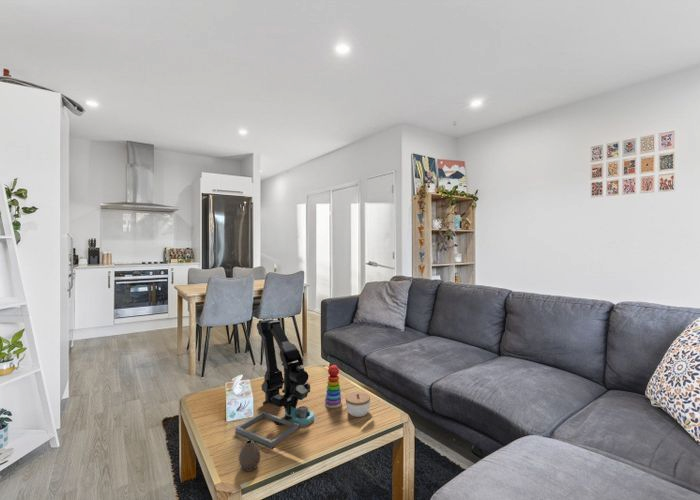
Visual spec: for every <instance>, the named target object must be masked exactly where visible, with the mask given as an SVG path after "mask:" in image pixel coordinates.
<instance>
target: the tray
mask: <svg viewBox="0 0 700 500" xmlns="http://www.w3.org/2000/svg"><path fill="white" fill-rule="evenodd" d="M262 418H265V419H269V420H270V421H274V422H276V423H280V424H281V425H282V424H283V425H284V426H288V427H289V428H288V429H287V430H284V431H283V432H282V433H280V434H279V435H278V436H277V435H276V437H275V438H273V439H269V438H266V437H265V436H261V435H259V434H256V433H254V432H253V431H249V430H247V429H246V428H247V427H248V426H250V425H252V424H254V423H255V422H257V421H260V420H261V419H262ZM299 427H300V426H299V424H297V423H294V422H291V421H289V419H286V418H283V417H279V416H278V415H274V414H271V413H269V412H266V411H262V412H261V413H258V414H257V415H254V416H253V417H252V418H250V419H248V420H246V421H245V422H243V423H241V424H239V425H237V426H236V427H234V428H235V435H236V436H239V437H242V438H244V439H247V440H253V442H254V443H255V444H258V445H260V446H263V447H265V448H267V449H269V450H273V449H274V448H275V445H277V444H278V443H279V442H281V441H282V440H284V439H286V438H287V437H288V436H289V435H290V434H292V433H294V432H295V431H296V430H298V429H300V428H299Z"/></svg>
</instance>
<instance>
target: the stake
mask: <svg viewBox="0 0 700 500" xmlns="http://www.w3.org/2000/svg"><path fill="white" fill-rule="evenodd" d="M308 410H309V407H308V406H303V405H302V406H299V407H298V408H297V411H298V412H299V417H297V418H307V417H308V416H306V412H307V411H308ZM319 418H320V416H318V415H314V421H312V422H311V423H309V424H306V425H299V427H300V428H303V429H305V428H306V427H308V426H310V425H311V424H312V423H314V422H315V421H317V420H319ZM288 420H289V421H291V422H292V417H289V419H288Z"/></svg>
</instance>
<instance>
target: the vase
mask: <svg viewBox="0 0 700 500" xmlns="http://www.w3.org/2000/svg"><path fill="white" fill-rule="evenodd" d="M260 460H261V452H260V448H259V446H258V445H257V443H256V442H253V440H249V439H247V440H246V441H245V442H244V445H243V446H242V447H241V449H240V451H239V454H238V463H239V464H238V465H239V466H240V468H241V469H242V470H244V471H246V472H251V471H253V470H255V469H256V468H257V467H258V465H259V463H260Z"/></svg>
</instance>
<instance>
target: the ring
mask: <svg viewBox="0 0 700 500" xmlns="http://www.w3.org/2000/svg"><path fill="white" fill-rule="evenodd" d="M297 409H298V408H297V407H296V408H294V407H291V413H290V415H288V414H287V412H286V410H285V409H284V415H285V416H288V417H289V418H292V422H294V423H297V424H299V425H306V424H309V423H311V422H312V421H314V416H315V414H314V411H313V410H309V409H308V411H307V412H306V416H308V417H307V418H297V417H299V412H298V411H297ZM314 422H315V421H314ZM312 423H313V422H312ZM312 423H311V424H312ZM309 425H310V424H309Z"/></svg>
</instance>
